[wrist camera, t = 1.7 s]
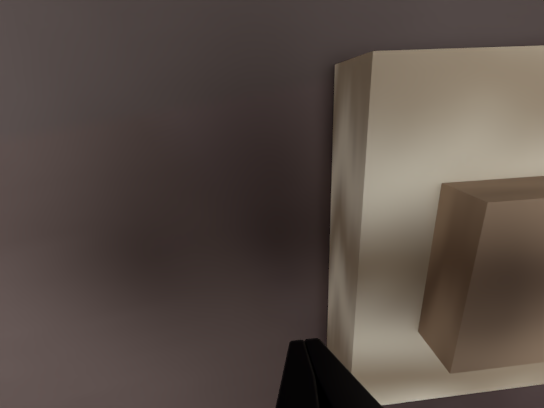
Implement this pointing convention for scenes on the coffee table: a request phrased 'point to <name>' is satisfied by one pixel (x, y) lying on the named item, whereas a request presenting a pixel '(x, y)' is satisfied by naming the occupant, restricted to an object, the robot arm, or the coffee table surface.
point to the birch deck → (418, 198)
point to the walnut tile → (486, 275)
